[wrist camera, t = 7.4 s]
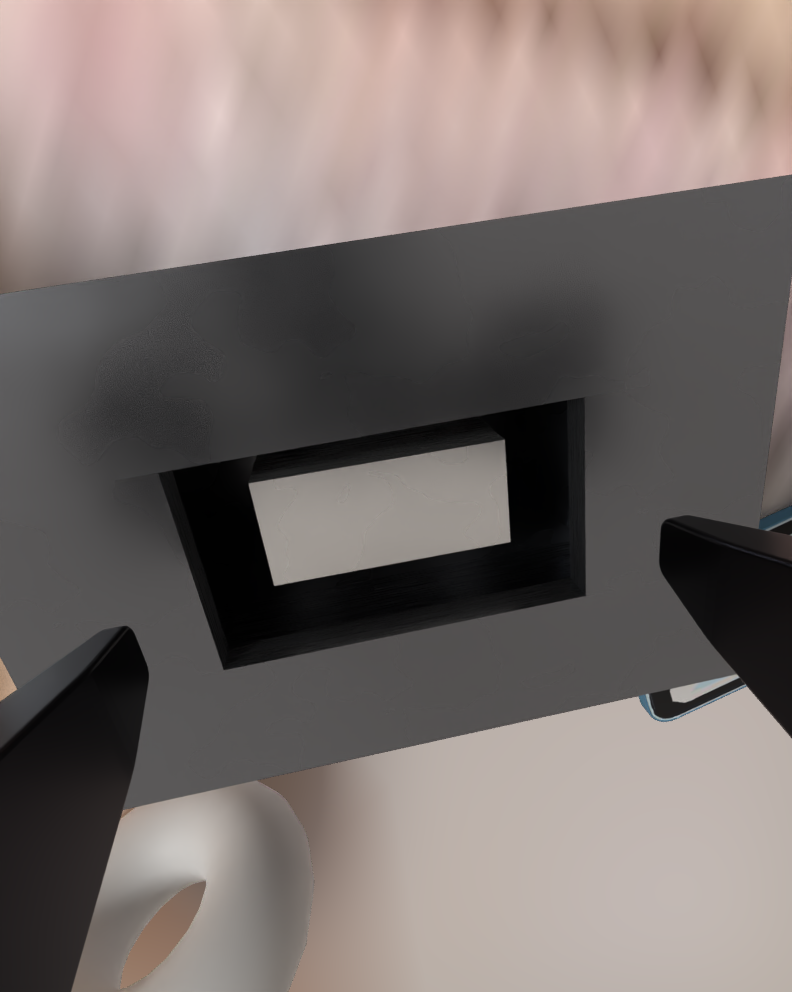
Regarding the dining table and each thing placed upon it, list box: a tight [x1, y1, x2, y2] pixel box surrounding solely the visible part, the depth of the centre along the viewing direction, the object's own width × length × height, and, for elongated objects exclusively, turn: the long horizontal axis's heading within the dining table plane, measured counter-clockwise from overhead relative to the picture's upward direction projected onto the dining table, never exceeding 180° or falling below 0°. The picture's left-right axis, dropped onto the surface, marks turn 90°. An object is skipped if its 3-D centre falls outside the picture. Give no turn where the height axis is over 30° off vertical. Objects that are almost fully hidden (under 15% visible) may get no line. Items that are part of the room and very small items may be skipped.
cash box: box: [0, 175, 792, 810], centre depth 14 cm, size 16×11×7 cm
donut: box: [71, 780, 314, 992], centre depth 17 cm, size 10×3×10 cm, turn 111°
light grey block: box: [248, 416, 510, 586], centre depth 14 cm, size 6×2×5 cm, turn 97°
